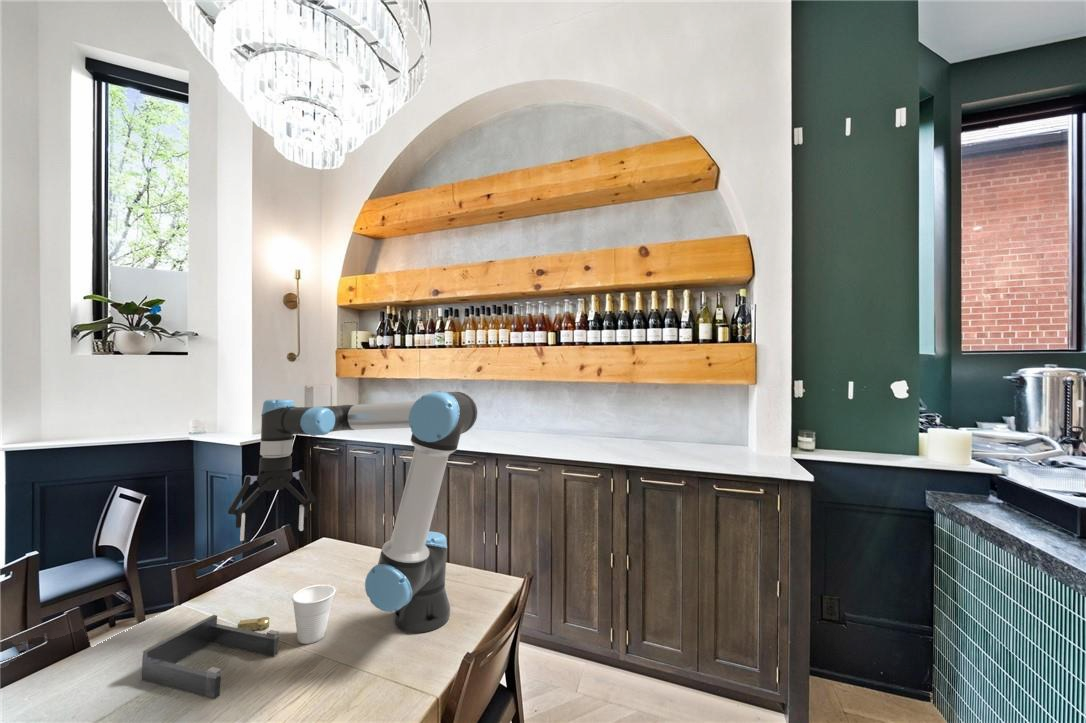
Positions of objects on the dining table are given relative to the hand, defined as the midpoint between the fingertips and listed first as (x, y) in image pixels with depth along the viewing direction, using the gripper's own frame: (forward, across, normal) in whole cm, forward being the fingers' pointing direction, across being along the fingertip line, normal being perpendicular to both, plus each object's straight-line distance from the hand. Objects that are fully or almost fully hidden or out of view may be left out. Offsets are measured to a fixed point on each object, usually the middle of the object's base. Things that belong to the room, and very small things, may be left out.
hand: (272, 534), depth 116 cm
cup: (+24, -8, +14) cm, 29 cm away
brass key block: (+23, +4, 0) cm, 24 cm away
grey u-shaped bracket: (+23, +11, +14) cm, 29 cm away
